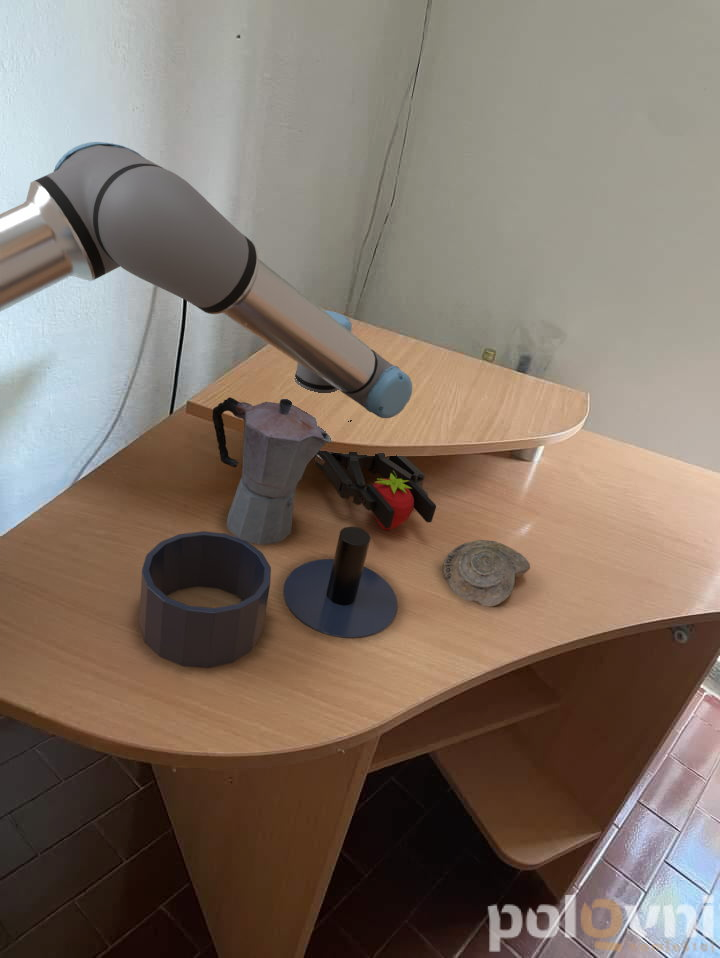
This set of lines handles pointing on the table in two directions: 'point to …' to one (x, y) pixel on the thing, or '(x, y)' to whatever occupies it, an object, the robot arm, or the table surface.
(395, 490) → the strawberry
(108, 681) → the table surface
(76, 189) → the robot arm
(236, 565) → the pot
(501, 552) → the fossilized seashell
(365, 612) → the pot lid
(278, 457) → the moka pot
